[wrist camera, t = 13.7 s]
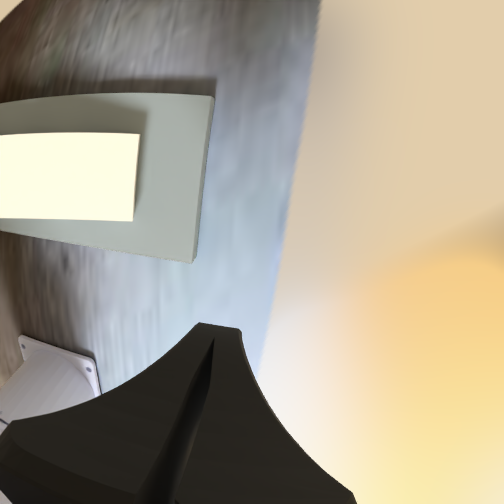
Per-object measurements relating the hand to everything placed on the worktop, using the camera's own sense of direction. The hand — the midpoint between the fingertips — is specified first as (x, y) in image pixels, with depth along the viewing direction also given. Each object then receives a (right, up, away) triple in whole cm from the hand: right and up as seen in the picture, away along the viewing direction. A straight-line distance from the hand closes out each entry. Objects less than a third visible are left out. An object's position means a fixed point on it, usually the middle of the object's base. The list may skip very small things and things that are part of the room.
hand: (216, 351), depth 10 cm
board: (-13, +9, +8) cm, 17 cm away
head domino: (-5, +7, +6) cm, 10 cm away
